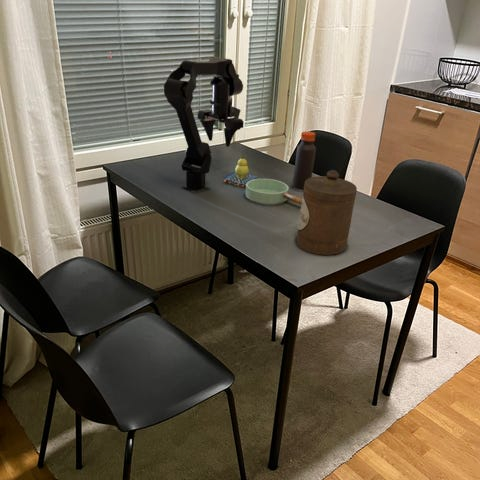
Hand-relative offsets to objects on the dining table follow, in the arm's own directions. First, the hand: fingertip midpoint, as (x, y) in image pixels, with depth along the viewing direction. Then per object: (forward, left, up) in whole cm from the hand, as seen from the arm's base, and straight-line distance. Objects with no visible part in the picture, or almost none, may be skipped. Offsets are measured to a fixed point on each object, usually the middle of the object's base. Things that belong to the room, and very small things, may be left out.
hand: (219, 143), depth 181 cm
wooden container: (-16, -60, -13) cm, 63 cm away
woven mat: (+4, -9, -13) cm, 16 cm away
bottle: (+18, -27, -13) cm, 35 cm away
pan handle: (0, -38, -11) cm, 40 cm away
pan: (0, -25, -13) cm, 28 cm away
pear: (+4, -9, -11) cm, 15 cm away
